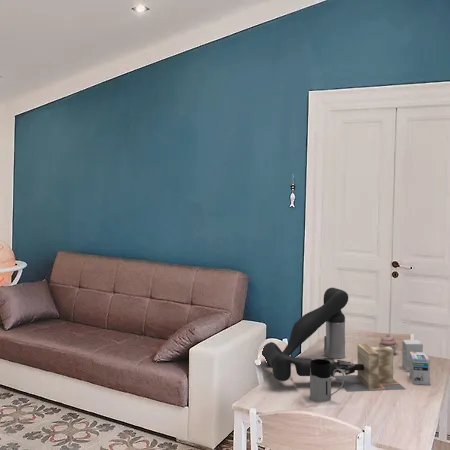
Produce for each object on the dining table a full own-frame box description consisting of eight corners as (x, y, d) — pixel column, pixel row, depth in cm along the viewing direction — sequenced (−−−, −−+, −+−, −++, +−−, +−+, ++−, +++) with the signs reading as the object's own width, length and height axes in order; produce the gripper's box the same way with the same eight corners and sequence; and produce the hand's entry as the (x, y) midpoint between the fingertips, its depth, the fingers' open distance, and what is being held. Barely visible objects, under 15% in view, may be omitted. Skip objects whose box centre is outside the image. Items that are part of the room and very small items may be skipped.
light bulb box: (430, 385, 218) (430, 359, 217) (412, 384, 219) (413, 358, 219) (425, 376, 228) (425, 351, 228) (409, 375, 230) (409, 351, 229)
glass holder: (316, 394, 209) (316, 357, 208) (349, 403, 200) (349, 363, 199) (304, 401, 202) (304, 362, 201) (338, 410, 193) (338, 369, 192)
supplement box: (418, 366, 242) (418, 339, 241) (423, 372, 234) (423, 343, 234) (401, 366, 242) (402, 339, 242) (405, 371, 235) (405, 343, 234)
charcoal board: (346, 394, 209) (346, 391, 209) (333, 378, 228) (333, 375, 228) (406, 391, 211) (406, 388, 211) (388, 376, 230) (388, 373, 230)
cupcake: (376, 355, 261) (376, 334, 260) (380, 350, 269) (380, 330, 269) (396, 357, 257) (396, 336, 256) (399, 352, 265) (399, 332, 264)
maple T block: (368, 388, 212) (368, 353, 212) (357, 376, 226) (357, 344, 226) (398, 387, 213) (398, 352, 212) (384, 375, 227) (385, 343, 226)
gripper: (317, 371, 224) (357, 371, 225) (326, 381, 211) (368, 381, 212) (318, 353, 224) (358, 353, 225) (326, 362, 210) (369, 362, 212)
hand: (363, 367), depth 218 cm, fingers closed
